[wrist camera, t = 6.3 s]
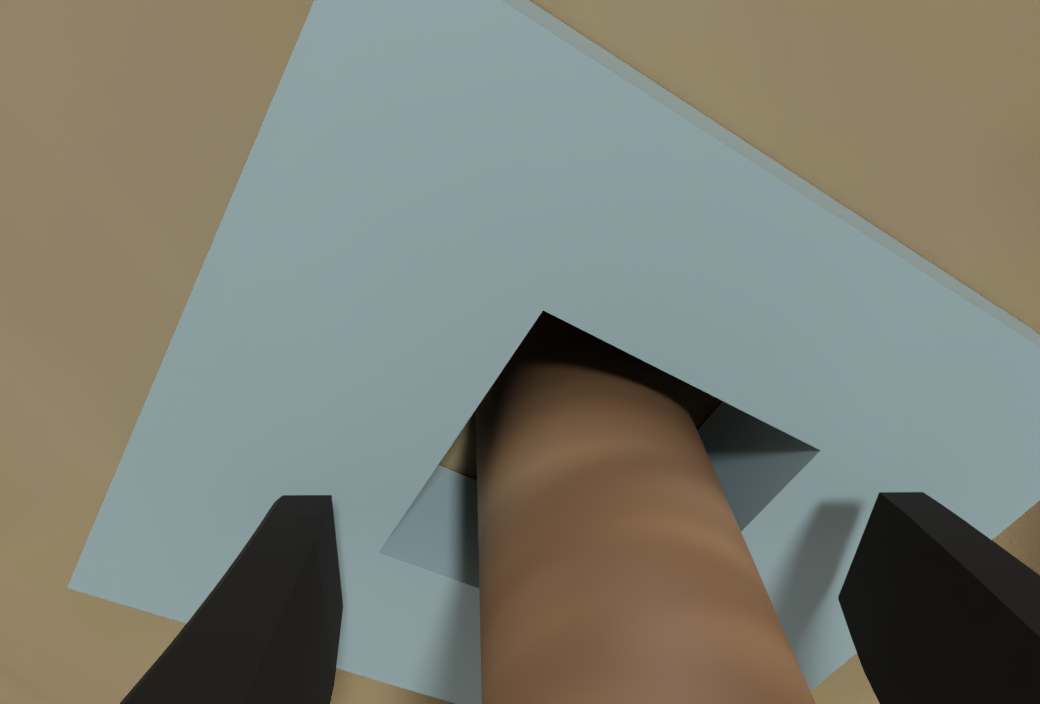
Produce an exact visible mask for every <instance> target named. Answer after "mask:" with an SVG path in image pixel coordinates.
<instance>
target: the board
mask: <svg viewBox="0 0 1040 704" xmlns="http://www.w3.org/2000/svg"><path fill="white" fill-rule="evenodd" d="M542 311H545V312H547V313H549V314H551V315H553V316H555V317H557V318H559V319H561V320H563V321H565V322H567V323H569V324H571V325H573V326H575V327H577V328H579V329H581V330H583V331H585V332H587V333H589V334H591V335H593V336H595V337H597V338H599V339H601V340H603V341H605V342H607V343H609V344H611V345H613V346H615V347H617V348H619V349H621V350H623V351H625V352H627V353H629V354H631V355H633V356H635V357H637V358H639V359H640V360H642V361H644V362H646V363H648V364H650V365H652V366H654V367H656V368H658V369H660V370H662V371H664V372H666V373H668V374H670V375H672V376H674V377H676V378H678V379H680V380H682V381H684V382H686V383H688V384H690V385H692V386H694V387H696V388H698V389H700V390H702V391H704V392H706V393H708V394H710V395H712V396H714V397H716V398H718V399H720V400H722V402H721V404H720V405H719V406H718V407H717V408H716V409H715V410H714V412H713V413H712V414H711V415H710V416H709V417H708V419H707V420H706V421H705V422H704V423H703V424H702V426H701V427H700V428H699V429H698V430H697V431H698V433H699V436H700V438H701V440H702V443H703V445H704V447H705V450H706V452H707V454H708V457H709V459H710V461H711V463H712V466H713V468H714V470H715V473H716V475H717V477H718V480H719V482H720V484H721V487H722V489H723V491H724V494H725V496H726V498H727V500H728V503H729V505H730V507H731V510H732V512H733V514H734V517H735V519H736V521H737V524H738V526H739V528H740V531H741V533H742V535H743V537H744V540H745V542H746V544H747V547H748V549H749V551H750V554H751V556H752V558H753V561H754V563H755V565H756V567H757V570H758V572H759V574H760V577H761V579H762V581H763V584H764V586H765V588H766V591H767V593H768V595H769V598H770V600H771V602H772V604H773V607H774V609H775V611H776V614H777V616H778V618H779V621H780V623H781V625H782V628H783V630H784V632H785V635H786V637H787V639H788V641H789V644H790V646H791V648H792V651H793V653H794V655H795V658H796V660H797V662H798V665H799V667H800V669H801V672H802V674H803V676H804V678H805V681H806V683H807V685H808V688H809V690H810V691H811V690H813V689H814V688H815V687H816V686H817V685H819V684H820V683H821V682H822V681H823V680H825V679H826V678H827V677H828V676H829V675H831V674H832V673H833V672H834V671H835V670H837V669H838V668H839V667H840V666H841V665H843V664H844V663H845V662H846V661H847V660H849V659H850V658H851V657H852V656H853V655H855V654H856V653H857V651H856V649H855V646H854V643H853V641H852V638H851V635H850V632H849V629H848V626H847V623H846V620H845V617H844V614H843V612H842V609H841V606H840V603H839V600H838V596H839V594H840V591H841V589H842V586H843V584H844V581H845V578H846V576H847V573H848V571H849V568H850V566H851V563H852V561H853V558H854V555H855V553H856V550H857V548H858V545H859V543H860V540H861V538H862V535H863V533H864V530H865V527H866V525H867V522H868V520H869V517H870V515H871V512H872V510H873V507H874V504H875V502H876V499H877V497H878V494H879V492H923V493H925V494H927V495H928V496H930V497H931V498H933V499H934V500H936V501H937V502H939V503H940V504H942V505H943V506H945V507H946V508H948V509H949V510H950V511H952V512H953V513H955V514H956V515H958V516H959V517H960V518H962V519H963V520H965V521H966V522H967V523H969V524H970V525H971V526H973V527H974V528H976V529H977V530H978V531H980V532H981V533H982V534H984V535H985V536H987V537H988V538H989V539H991V540H993V539H994V538H995V537H996V536H997V535H999V534H1000V533H1001V532H1002V531H1003V530H1005V529H1006V528H1007V527H1008V526H1009V525H1011V524H1012V523H1013V522H1014V521H1015V520H1017V519H1018V518H1019V517H1020V516H1021V515H1023V514H1024V513H1025V512H1026V511H1027V510H1029V509H1030V508H1031V507H1032V506H1033V505H1035V504H1036V503H1037V502H1038V501H1039V500H1040V335H1039V334H1038V333H1036V332H1035V331H1034V330H1032V329H1031V328H1030V327H1028V326H1027V325H1025V324H1024V323H1022V322H1021V321H1019V320H1018V319H1016V318H1015V317H1013V316H1012V315H1010V314H1008V313H1007V312H1005V311H1004V310H1002V309H1001V308H999V307H998V306H996V305H995V304H993V303H992V302H990V301H989V300H987V299H985V298H984V297H982V296H981V295H979V294H978V293H976V292H975V291H973V290H972V289H970V288H969V287H967V286H966V285H964V284H963V283H961V282H959V281H958V280H956V279H955V278H953V277H952V276H950V275H949V274H947V273H946V272H944V271H943V270H941V269H940V268H938V267H936V266H935V265H933V264H932V263H930V262H929V261H927V260H926V259H924V258H923V257H921V256H920V255H918V254H917V253H915V252H914V251H912V250H910V249H909V248H907V247H906V246H904V245H903V244H901V243H900V242H898V241H897V240H895V239H894V238H892V237H891V236H889V235H888V234H886V233H884V232H883V231H881V230H880V229H878V228H877V227H875V226H874V225H872V224H871V223H869V222H868V221H866V220H865V219H863V218H861V217H860V216H858V215H857V214H855V213H854V212H852V211H851V210H849V209H848V208H846V207H845V206H843V205H842V204H840V203H839V202H837V201H835V200H834V199H832V198H831V197H829V196H828V195H826V194H825V193H823V192H822V191H820V190H819V189H817V188H816V187H814V186H812V185H811V184H809V183H808V182H806V181H805V180H803V179H802V178H800V177H799V176H797V175H796V174H794V173H793V172H791V171H790V170H788V169H786V168H785V167H783V166H782V165H780V164H779V163H777V162H776V161H774V160H773V159H771V158H770V157H768V156H767V155H765V154H763V153H762V152H760V151H759V150H757V149H756V148H754V147H753V146H751V145H750V144H748V143H747V142H745V141H744V140H742V139H741V138H739V137H737V136H736V135H734V134H733V133H731V132H730V131H728V130H727V129H725V128H724V127H722V126H721V125H719V124H718V123H716V122H714V121H713V120H711V119H710V118H708V117H707V116H705V115H704V114H702V113H701V112H699V111H698V110H696V109H695V108H693V107H692V106H690V105H688V104H687V103H685V102H684V101H682V100H681V99H679V98H678V97H676V96H675V95H673V94H672V93H670V92H669V91H667V90H665V89H664V88H662V87H661V86H659V85H658V84H656V83H655V82H653V81H652V80H650V79H649V78H647V77H646V76H644V75H643V74H641V73H639V72H638V71H636V70H635V69H633V68H632V67H630V66H629V65H627V64H626V63H624V62H623V61H621V60H620V59H618V58H617V57H615V56H613V55H612V54H610V53H609V52H607V51H606V50H604V49H603V48H601V47H600V46H598V45H597V44H595V43H594V42H592V41H590V40H589V39H587V38H586V37H584V36H583V35H581V34H580V33H578V32H577V31H575V30H574V29H572V28H571V27H569V26H568V25H566V24H564V23H563V22H561V21H560V20H558V19H557V18H555V17H554V16H552V15H551V14H549V13H548V12H546V11H545V10H543V9H541V8H540V7H538V6H537V5H535V4H534V3H532V2H531V1H529V0H314V3H313V5H312V7H311V10H310V12H309V15H308V17H307V19H306V22H305V24H304V26H303V29H302V31H301V34H300V36H299V38H298V41H297V43H296V45H295V48H294V50H293V53H292V55H291V57H290V60H289V62H288V64H287V67H286V69H285V72H284V74H283V76H282V79H281V81H280V83H279V86H278V88H277V91H276V93H275V95H274V98H273V100H272V102H271V105H270V107H269V110H268V112H267V114H266V117H265V119H264V121H263V124H262V126H261V129H260V131H259V133H258V136H257V138H256V140H255V143H254V145H253V148H252V150H251V152H250V155H249V157H248V159H247V162H246V164H245V167H244V169H243V171H242V174H241V176H240V178H239V181H238V183H237V186H236V188H235V190H234V193H233V195H232V197H231V200H230V202H229V205H228V207H227V209H226V212H225V214H224V216H223V219H222V221H221V224H220V226H219V228H218V231H217V233H216V235H215V238H214V240H213V243H212V245H211V247H210V250H209V252H208V254H207V257H206V259H205V262H204V264H203V266H202V269H201V271H200V273H199V276H198V278H197V281H196V283H195V285H194V288H193V290H192V292H191V295H190V297H189V300H188V302H187V304H186V307H185V309H184V311H183V314H182V316H181V319H180V321H179V323H178V326H177V328H176V330H175V333H174V335H173V338H172V340H171V342H170V345H169V347H168V349H167V352H166V354H165V357H164V359H163V361H162V364H161V366H160V368H159V371H158V373H157V376H156V378H155V380H154V383H153V385H152V387H151V390H150V392H149V395H148V397H147V399H146V402H145V404H144V406H143V409H142V411H141V414H140V416H139V418H138V421H137V423H136V425H135V428H134V430H133V433H132V435H131V437H130V440H129V442H128V444H127V447H126V449H125V452H124V454H123V456H122V459H121V461H120V463H119V466H118V468H117V471H116V473H115V475H114V478H113V480H112V482H111V485H110V487H109V490H108V492H107V494H106V497H105V499H104V501H103V504H102V506H101V509H100V511H99V513H98V516H97V518H96V520H95V523H94V525H93V528H92V530H91V532H90V535H89V537H88V539H87V542H86V544H85V547H84V549H83V551H82V554H81V556H80V558H79V561H78V563H77V566H76V568H75V570H74V573H73V575H72V577H71V580H70V582H69V585H68V587H67V588H69V589H72V590H76V591H79V592H82V593H86V594H89V595H93V596H96V597H99V598H103V599H106V600H109V601H113V602H116V603H119V604H123V605H126V606H129V607H133V608H136V609H139V610H143V611H146V612H150V613H153V614H156V615H160V616H163V617H166V618H170V619H173V620H176V621H180V622H183V623H186V624H187V622H188V621H189V620H190V619H191V617H192V616H193V615H194V613H195V612H196V611H197V610H198V608H199V607H200V606H201V604H202V603H203V602H204V601H205V599H206V598H207V597H208V595H209V594H210V593H211V592H212V590H213V589H214V588H215V586H216V585H217V584H218V582H219V581H220V580H221V578H222V577H223V576H224V574H225V573H226V571H227V570H228V569H229V567H230V566H231V565H232V563H233V562H234V560H235V559H236V558H237V556H238V555H239V554H240V552H241V551H242V549H243V548H244V546H245V545H246V544H247V542H248V541H249V539H250V538H251V536H252V535H253V534H254V532H255V531H256V529H257V528H258V526H259V525H260V523H261V522H262V520H263V519H264V517H265V516H266V514H267V513H268V511H269V510H270V508H271V507H272V505H273V503H274V502H275V501H276V500H278V499H279V498H280V497H281V496H282V495H332V504H333V513H334V523H335V533H336V542H337V552H338V561H339V571H340V580H341V590H342V600H343V612H342V621H341V630H340V639H339V647H338V656H337V664H336V668H337V669H341V670H344V671H347V672H351V673H354V674H357V675H361V676H364V677H367V678H371V679H374V680H377V681H381V682H384V683H387V684H391V685H394V686H397V687H401V688H404V689H408V690H411V691H414V692H418V693H421V694H424V695H428V696H431V697H434V698H438V699H441V700H444V701H448V702H451V703H454V704H482V686H481V639H480V591H479V544H478V497H477V480H474V479H472V478H469V477H467V476H464V475H462V474H459V473H457V472H454V471H452V470H450V469H447V468H445V467H442V466H440V465H438V464H439V463H440V461H441V460H442V458H443V457H444V456H445V454H446V453H447V451H448V450H449V448H450V447H451V445H452V444H453V442H454V441H455V439H456V438H457V436H458V435H459V433H460V432H461V431H462V429H463V428H464V426H465V425H466V423H467V422H468V420H469V419H470V417H471V416H472V414H473V413H474V411H475V410H476V408H477V407H478V405H479V404H480V403H481V401H482V400H483V398H484V397H485V395H486V394H487V392H488V391H489V389H490V388H491V386H492V385H493V383H494V382H495V380H496V379H497V378H498V376H499V375H500V373H501V372H502V370H503V369H504V367H505V366H506V364H507V363H508V361H509V360H510V358H511V357H512V355H513V354H514V352H515V351H516V350H517V348H518V347H519V345H520V344H521V342H522V341H523V339H524V338H525V336H526V335H527V333H528V332H529V330H530V329H531V327H532V326H533V325H534V323H535V322H536V320H537V319H538V317H539V316H540V314H541V313H542Z"/></svg>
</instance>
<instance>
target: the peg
mask: <svg viewBox="0 0 1040 704" xmlns="http://www.w3.org/2000/svg"><path fill="white" fill-rule="evenodd" d="M476 450H477V497H478V544H479V591H480V639H481V686H482V704H815V702H814V699H813V697H812V695H811V692H810V690H809V688H808V685H807V683H806V681H805V678H804V676H803V674H802V672H801V669H800V667H799V665H798V662H797V660H796V658H795V655H794V653H793V651H792V648H791V646H790V644H789V641H788V639H787V637H786V635H785V632H784V630H783V628H782V625H781V623H780V621H779V618H778V616H777V614H776V611H775V609H774V607H773V604H772V602H771V600H770V598H769V595H768V593H767V591H766V588H765V586H764V584H763V581H762V579H761V577H760V574H759V572H758V570H757V567H756V565H755V563H754V561H753V558H752V556H751V554H750V551H749V549H748V547H747V544H746V542H745V540H744V537H743V535H742V533H741V531H740V528H739V526H738V524H737V521H736V519H735V517H734V514H733V512H732V510H731V507H730V505H729V503H728V500H727V498H726V496H725V494H724V491H723V489H722V487H721V484H720V482H719V480H718V477H717V475H716V473H715V470H714V468H713V466H712V463H711V461H710V459H709V457H708V454H707V452H706V450H705V447H704V445H703V443H702V440H701V438H700V436H699V433H698V431H697V429H696V426H695V424H694V422H693V420H692V417H691V415H690V413H689V410H688V408H687V406H686V403H685V401H684V399H683V396H682V394H681V392H680V389H679V387H678V385H677V383H676V380H675V378H674V376H672V375H670V374H668V373H666V372H664V371H662V370H660V369H658V368H656V367H654V366H652V365H650V364H648V363H646V362H644V361H642V360H640V359H639V358H637V357H635V356H633V355H631V354H629V353H627V352H625V351H623V350H621V349H619V348H617V347H615V346H613V345H611V344H609V343H607V342H605V341H603V340H601V339H599V338H597V337H595V336H593V335H591V334H589V333H587V332H585V331H583V330H581V329H579V328H577V327H575V326H573V325H571V324H569V323H567V322H565V321H563V320H561V319H559V318H557V317H555V316H550V317H547V318H544V319H540V320H538V321H536V322H535V323H534V325H533V326H532V327H531V329H530V330H529V332H528V333H527V335H526V336H525V338H524V339H523V341H522V342H521V344H520V345H519V347H518V348H517V350H516V351H515V352H514V354H513V355H512V357H511V358H510V360H509V361H508V363H507V364H506V366H505V367H504V369H503V370H502V372H501V373H500V375H499V376H498V378H497V379H496V380H495V382H494V383H493V385H492V386H491V388H490V389H489V391H488V392H487V394H486V395H485V397H484V398H483V400H482V401H481V403H480V404H479V405H478V407H477V408H476Z"/></svg>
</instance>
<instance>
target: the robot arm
mask: <svg viewBox="0 0 1040 704" xmlns="http://www.w3.org/2000/svg"><path fill="white" fill-rule="evenodd" d="M838 600H839V603H840V606H841V609H842V612H843V614H844V617H845V620H846V623H847V626H848V629H849V632H850V635H851V638H852V641H853V643H854V646H855V649H856V651H857V654H858V657H859V659H860V662H861V664H862V667H863V670H864V672H865V674H866V676H867V678H868V680H869V682H870V684H871V687H872V689H873V691H874V693H875V695H876V697H877V699H878V701H879V703H880V704H1040V575H1038V574H1037V573H1036V572H1034V571H1033V570H1031V569H1030V568H1029V567H1027V566H1026V565H1025V564H1023V563H1022V562H1021V561H1019V560H1018V559H1017V558H1015V557H1014V556H1012V555H1011V554H1010V553H1008V552H1007V551H1006V550H1004V549H1003V548H1002V547H1000V546H999V545H997V544H996V543H995V542H993V541H992V540H991V539H989V538H988V537H987V536H985V535H984V534H982V533H981V532H980V531H978V530H977V529H976V528H974V527H973V526H971V525H970V524H969V523H967V522H966V521H965V520H963V519H962V518H960V517H959V516H958V515H956V514H955V513H953V512H952V511H950V510H949V509H948V508H946V507H945V506H943V505H942V504H940V503H939V502H937V501H936V500H934V499H933V498H931V497H930V496H928V495H927V494H925V493H923V492H879V494H878V497H877V499H876V502H875V504H874V507H873V510H872V512H871V515H870V517H869V520H868V522H867V525H866V527H865V530H864V533H863V535H862V538H861V540H860V543H859V545H858V548H857V550H856V553H855V555H854V558H853V561H852V563H851V566H850V568H849V571H848V573H847V576H846V578H845V581H844V584H843V586H842V589H841V591H840V594H839V596H838ZM342 612H343V600H342V590H341V580H340V571H339V561H338V552H337V542H336V533H335V523H334V513H333V504H332V495H282V496H281V497H280V498H279V499H278V500H276V501H275V502H274V503H273V505H272V507H271V508H270V510H269V511H268V513H267V514H266V516H265V517H264V519H263V520H262V522H261V523H260V525H259V526H258V528H257V529H256V531H255V532H254V534H253V535H252V536H251V538H250V539H249V541H248V542H247V544H246V545H245V546H244V548H243V549H242V551H241V552H240V554H239V555H238V556H237V558H236V559H235V560H234V562H233V563H232V565H231V566H230V567H229V569H228V570H227V571H226V573H225V574H224V576H223V577H222V578H221V580H220V581H219V582H218V584H217V585H216V586H215V588H214V589H213V590H212V592H211V593H210V594H209V595H208V597H207V598H206V599H205V601H204V602H203V603H202V604H201V606H200V607H199V608H198V610H197V611H196V612H195V613H194V615H193V616H192V617H191V619H190V620H189V621H188V622H187V624H186V625H185V626H184V628H183V629H182V630H181V632H180V633H179V634H178V635H177V637H176V638H175V639H174V640H173V642H172V643H171V644H170V645H169V646H168V648H167V649H166V650H165V651H164V652H163V654H162V655H161V656H160V657H159V658H158V659H157V661H156V662H155V663H154V664H153V665H152V666H151V668H150V669H149V670H148V671H147V672H146V673H145V675H144V676H143V677H142V678H141V679H140V680H139V682H138V683H137V684H136V685H135V686H134V687H133V689H132V690H131V691H130V692H129V693H128V695H127V696H126V697H125V698H124V699H123V700H122V702H121V703H120V704H330V700H331V695H332V691H333V686H334V680H335V672H336V664H337V656H338V647H339V639H340V630H341V621H342Z"/></svg>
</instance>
